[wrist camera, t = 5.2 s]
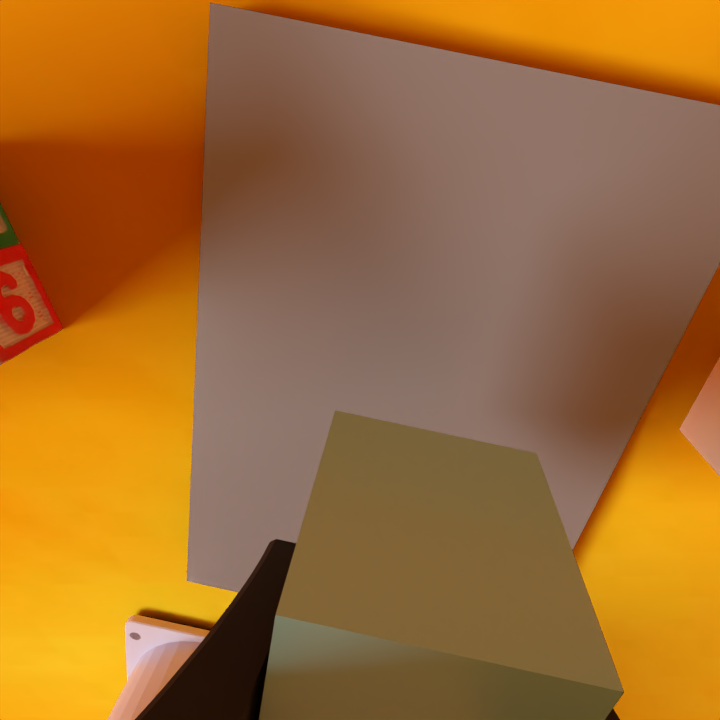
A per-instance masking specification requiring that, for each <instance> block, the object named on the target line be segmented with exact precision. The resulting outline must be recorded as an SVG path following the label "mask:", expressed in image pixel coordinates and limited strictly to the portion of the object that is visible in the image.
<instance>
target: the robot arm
mask: <svg viewBox="0 0 720 720" xmlns="http://www.w3.org/2000/svg"><path fill="white" fill-rule="evenodd" d="M295 546H296V543H293V542H288V541H283V540H279V539H275V540H273V541H271V542H269V544H268V546H267V548H266V550H265V552H264V554H263V556H262V557H261V559H260V561H259V562H258V564H257V566H256V567H255V569H254V570H253V572H252V574H251V575H250V577H249V578H248V580H247V581H246V583H245V584H244V585H243V587H242V588H241V590H240V591H239V593H238V594H237V596H236V597H235V598H234V600H233V601H232V603H231V604H230V605H229V607H228V608H227V609H226V611H225V612H224V613H223V615H222V616H221V617H220V619H219V620H218V621H217V623H216V624H215V625H214V626H213V628H212V629H211V630H210V631H209V630H204V629H200V628H195V627H191V626H186V625H181V624H177V623H172V622H168V621H163V620H159V619H154V618H150V617H145V616H141V615H133V616H131V617H129V619H128V620H127V622H126V624H125V637H126V661H127V683H126V685H125V687H124V689H123V691H122V693H121V695H120V696H119V698H118V700H117V702H116V704H115V706H114V708H113V710H112V712H111V714H110V716H109V718H108V719H107V720H259V715H260V709H261V703H262V696H263V690H264V684H265V677H266V671H267V665H268V659H269V652H270V646H271V640H272V634H273V627H274V621H275V615H276V612H277V608H278V605H279V601H280V598H281V594H282V591H283V587H284V584H285V581H286V577H287V574H288V570H289V567H290V563H291V560H292V557H293V553H294V550H295ZM605 720H620V719H619V717H618V716H617V714H616V713H615V711H614V709H612V710H611V712H610V713H609V714H608V716H607V717H606V719H605Z"/></svg>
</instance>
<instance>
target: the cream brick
mask: <svg viewBox="0 0 720 720" xmlns="http://www.w3.org/2000/svg"><path fill="white" fill-rule="evenodd" d="M679 430H680V431H681V432H682V434H683V435H684V436H685V437H686V438H687V439H688V440H689V442H690V443H691V444H692V445H693V446H694V447H695V448H696V450H697V451H698V452H699V453H700V454H701V455H702V456H703V458H704V459H705V460H706V461H707V462H708V463H709V464H710V466H711V467H712V468H713V469H714V470H715V471H716V472H717V474H718V475H719V476H720V357H719V359H718V361H717V363H716V364H715V366H714V368H713V370H712V372H711V373H710V375H709V377H708V379H707V380H706V382H705V384H704V386H703V388H702V389H701V391H700V393H699V395H698V397H697V398H696V400H695V402H694V404H693V405H692V407H691V409H690V411H689V413H688V414H687V416H686V418H685V420H684V421H683V423H682V425H681V427H680V429H679Z"/></svg>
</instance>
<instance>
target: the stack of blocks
mask: <svg viewBox="0 0 720 720" xmlns="http://www.w3.org/2000/svg"><path fill="white" fill-rule="evenodd" d="M61 330H62V325H61V323H60V321H59V319H58V317H57V315H56V313H55V311H54V309H53V307H52V305H51V303H50V301H49V299H48V297H47V295H46V293H45V290H44V288H43V286H42V284H41V282H40V280H39V278H38V276H37V274H36V272H35V270H34V268H33V266H32V264H31V262H30V260H29V258H28V256H27V254H26V252H25V250H24V248H23V247H22V245H21V244H20V243H19V241H18V239H17V237H16V235H15V233H14V231H13V229H12V226H11V224H10V222H9V220H8V218H7V216H6V214H5V212H4V210H3V208H2V206H1V204H0V365H1V364H3V363H5V362H6V361H8V360H10V359H12V358H14V357H15V356H17V355H19V354H20V353H22V352H24V351H25V350H27V349H29V348H30V347H32V346H33V345H35V344H37V343H39V342H41V341H43V340H45V339H47V338H49V337H51V336H52V335H54V334H56V333H58V332H59V331H61Z"/></svg>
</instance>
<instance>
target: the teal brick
mask: <svg viewBox="0 0 720 720" xmlns="http://www.w3.org/2000/svg"><path fill="white" fill-rule="evenodd" d="M623 693H624V690H623V688H622V685H621V682H620V679H619V677H618V674H617V671H616V668H615V666H614V663H613V660H612V658H611V655H610V652H609V649H608V647H607V644H606V641H605V638H604V636H603V633H602V630H601V627H600V625H599V622H598V619H597V617H596V614H595V611H594V608H593V606H592V603H591V600H590V597H589V595H588V592H587V589H586V586H585V584H584V581H583V578H582V576H581V573H580V570H579V567H578V565H577V562H576V559H575V556H574V554H573V551H572V548H571V545H570V543H569V540H568V537H567V535H566V532H565V529H564V526H563V524H562V521H561V518H560V515H559V513H558V510H557V507H556V504H555V502H554V499H553V496H552V494H551V491H550V488H549V485H548V483H547V480H546V477H545V474H544V472H543V469H542V466H541V463H540V461H539V458H538V455H537V453H533V452H528V451H524V450H519V449H514V448H510V447H505V446H500V445H496V444H491V443H486V442H481V441H477V440H472V439H467V438H463V437H458V436H453V435H449V434H444V433H439V432H435V431H430V430H425V429H421V428H416V427H411V426H407V425H402V424H397V423H393V422H388V421H383V420H379V419H374V418H369V417H365V416H360V415H355V414H350V413H346V412H341V411H336V410H335V412H334V416H333V419H332V423H331V426H330V430H329V433H328V436H327V440H326V443H325V447H324V450H323V454H322V457H321V460H320V464H319V467H318V471H317V474H316V478H315V481H314V484H313V488H312V491H311V495H310V498H309V502H308V505H307V508H306V512H305V515H304V519H303V522H302V526H301V529H300V533H299V536H298V539H297V543H296V546H295V550H294V553H293V557H292V560H291V563H290V567H289V570H288V574H287V577H286V581H285V584H284V587H283V591H282V594H281V598H280V601H279V605H278V608H277V612H276V615H275V621H274V627H273V634H272V640H271V646H270V652H269V659H268V665H267V671H266V677H265V684H264V690H263V696H262V703H261V709H260V715H259V720H605V719H606V717H607V716H608V714H609V713H610V712H611V710H612V709H613V707H614V706H615V704H616V703H617V702H618V700H619V699H620V697H621V696H622V694H623Z"/></svg>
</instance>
